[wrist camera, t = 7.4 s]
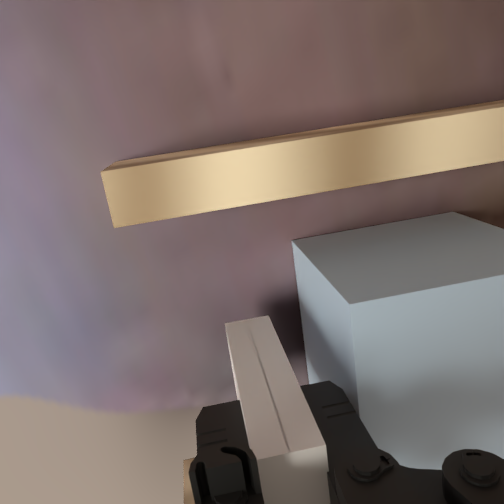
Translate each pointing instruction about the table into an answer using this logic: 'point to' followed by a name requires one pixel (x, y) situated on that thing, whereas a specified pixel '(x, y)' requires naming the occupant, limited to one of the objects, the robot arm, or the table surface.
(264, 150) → the channel
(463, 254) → the block
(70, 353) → the table surface
